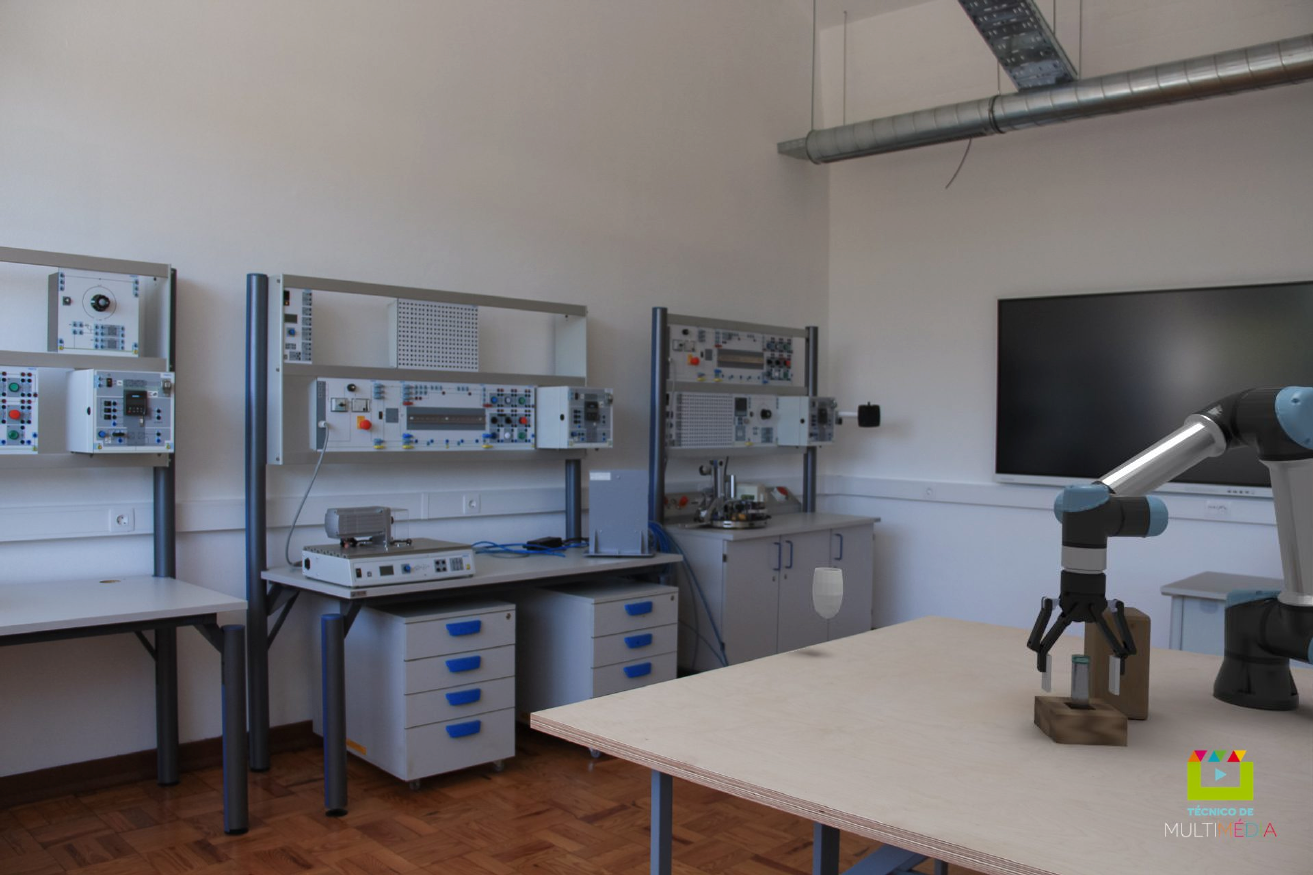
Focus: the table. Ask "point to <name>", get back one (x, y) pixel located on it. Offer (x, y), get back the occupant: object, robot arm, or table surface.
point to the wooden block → (1136, 666)
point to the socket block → (1080, 721)
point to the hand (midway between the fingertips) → (1079, 691)
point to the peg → (1080, 681)
